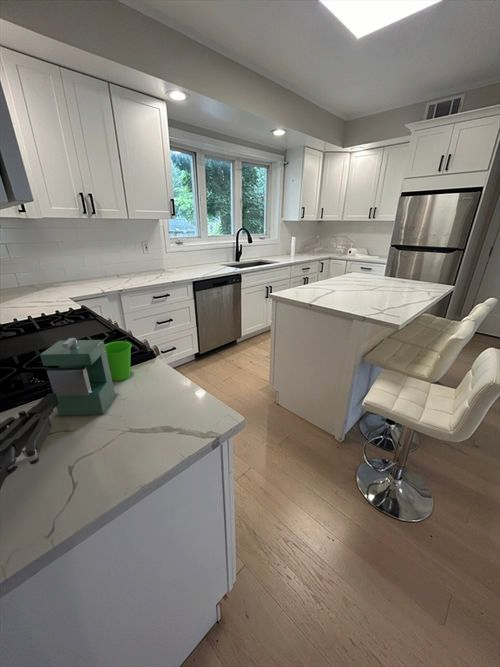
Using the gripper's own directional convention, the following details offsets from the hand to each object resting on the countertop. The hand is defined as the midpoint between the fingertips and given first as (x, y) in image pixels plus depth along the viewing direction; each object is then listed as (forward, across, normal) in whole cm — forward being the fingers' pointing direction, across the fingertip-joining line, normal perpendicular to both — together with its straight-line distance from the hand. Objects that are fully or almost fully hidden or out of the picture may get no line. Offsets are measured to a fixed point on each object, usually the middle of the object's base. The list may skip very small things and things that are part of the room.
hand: (53, 398), depth 60 cm
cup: (+26, +3, -11) cm, 28 cm away
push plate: (+7, 0, -3) cm, 8 cm away
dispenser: (+11, 0, -11) cm, 16 cm away
